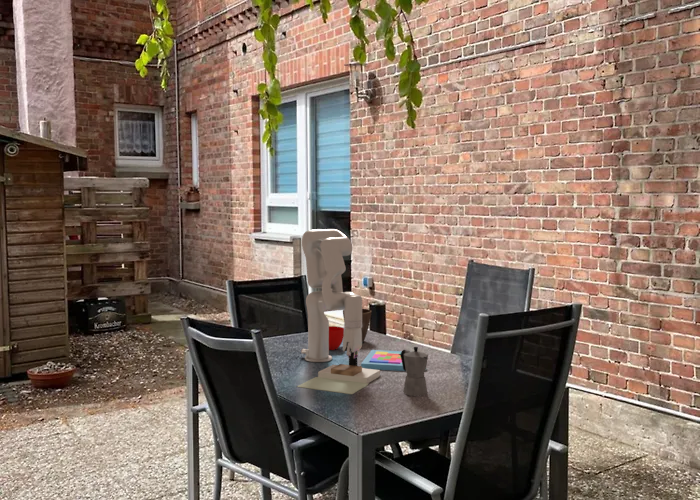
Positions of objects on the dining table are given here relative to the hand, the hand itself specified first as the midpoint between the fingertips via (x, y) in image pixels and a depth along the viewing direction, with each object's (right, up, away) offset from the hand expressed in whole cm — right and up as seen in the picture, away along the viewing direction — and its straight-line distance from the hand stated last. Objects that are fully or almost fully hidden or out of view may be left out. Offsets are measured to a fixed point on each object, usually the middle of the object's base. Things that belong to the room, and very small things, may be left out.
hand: (353, 367), depth 295 cm
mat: (-8, -5, -16) cm, 19 cm away
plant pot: (+2, +2, +69) cm, 69 cm away
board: (-2, -4, -3) cm, 5 cm away
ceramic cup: (-10, 0, +53) cm, 54 cm away
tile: (-3, -1, -5) cm, 6 cm away
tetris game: (+20, -3, +22) cm, 30 cm away
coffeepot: (+23, -6, -25) cm, 35 cm away
